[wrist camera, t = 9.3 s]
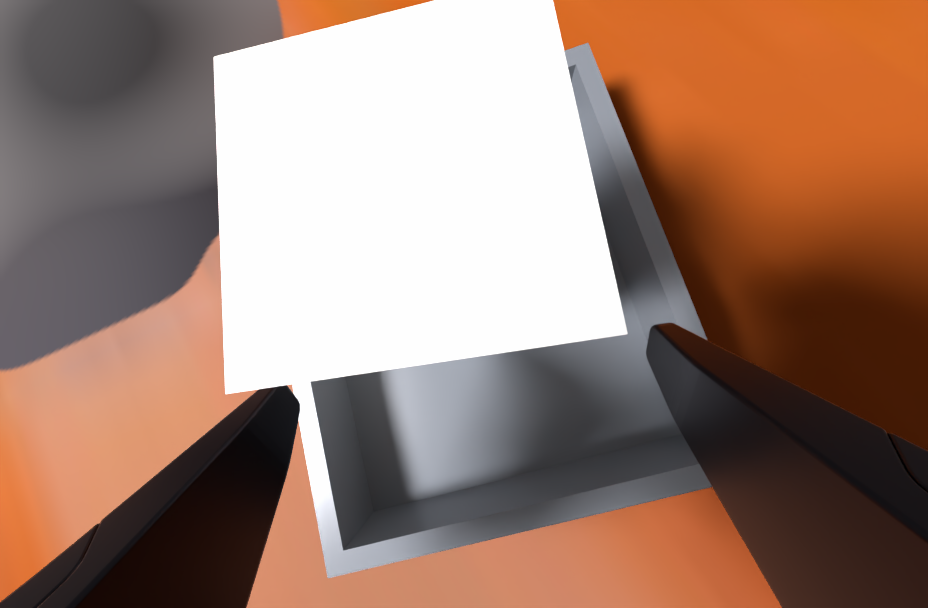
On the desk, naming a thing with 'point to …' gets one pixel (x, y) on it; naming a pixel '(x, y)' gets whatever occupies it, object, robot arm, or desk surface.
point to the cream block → (406, 196)
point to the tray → (511, 406)
